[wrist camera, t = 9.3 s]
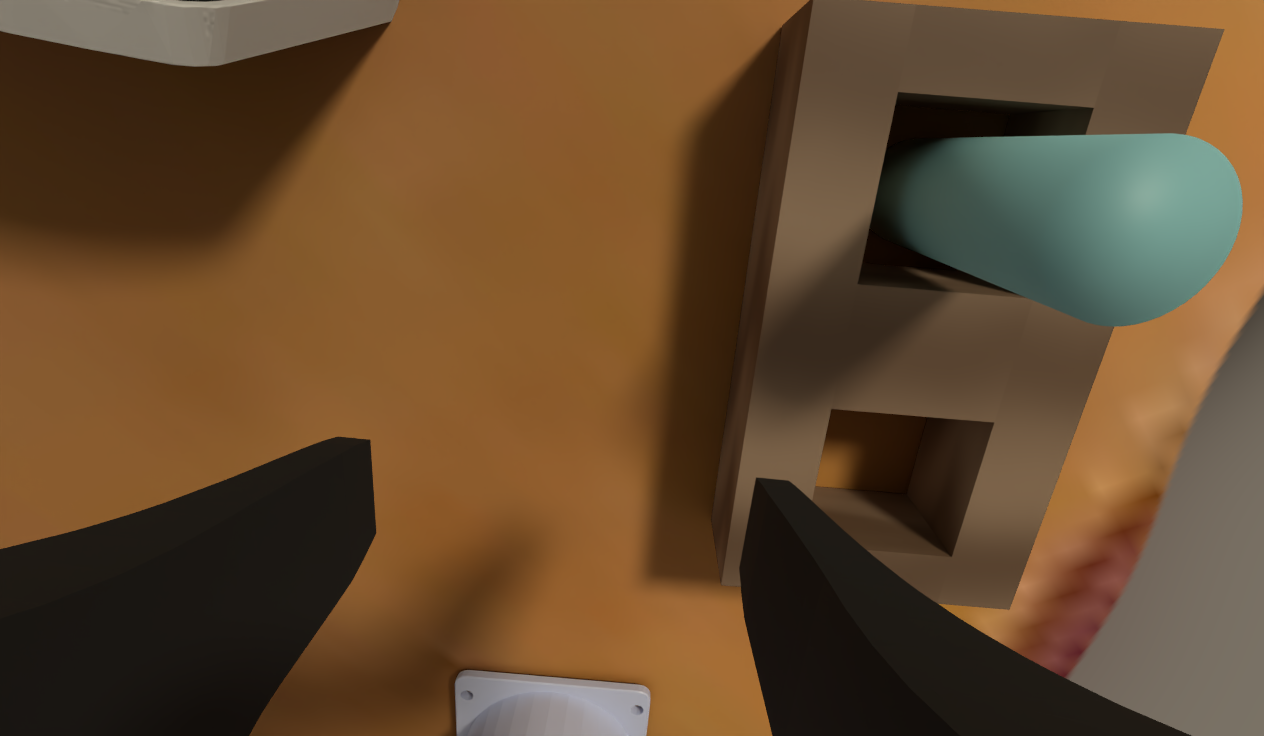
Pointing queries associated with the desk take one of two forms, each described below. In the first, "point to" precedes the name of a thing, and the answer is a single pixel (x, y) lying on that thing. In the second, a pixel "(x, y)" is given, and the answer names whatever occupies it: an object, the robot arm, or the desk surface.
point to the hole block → (923, 282)
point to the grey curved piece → (190, 25)
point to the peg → (1068, 216)
